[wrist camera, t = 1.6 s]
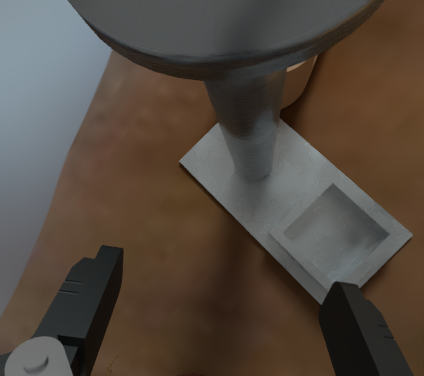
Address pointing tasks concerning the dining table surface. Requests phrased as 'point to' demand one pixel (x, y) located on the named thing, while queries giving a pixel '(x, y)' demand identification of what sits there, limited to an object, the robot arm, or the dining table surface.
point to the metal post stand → (261, 124)
